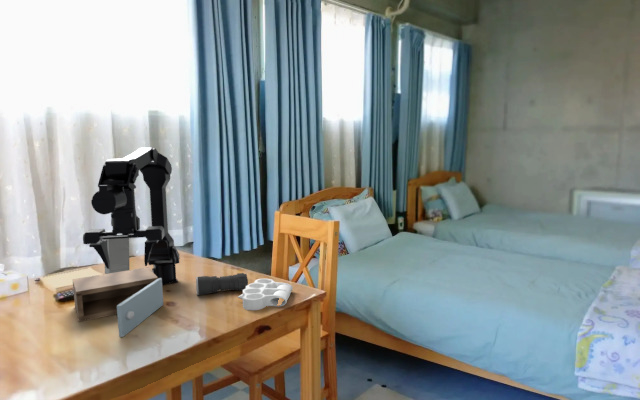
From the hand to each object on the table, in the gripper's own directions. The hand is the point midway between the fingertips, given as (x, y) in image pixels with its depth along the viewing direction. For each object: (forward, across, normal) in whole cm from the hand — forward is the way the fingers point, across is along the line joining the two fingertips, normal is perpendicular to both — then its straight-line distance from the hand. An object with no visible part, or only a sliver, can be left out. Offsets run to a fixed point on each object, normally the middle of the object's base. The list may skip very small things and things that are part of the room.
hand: (127, 266), depth 114 cm
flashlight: (+13, -24, -12) cm, 30 cm away
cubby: (+13, +5, -8) cm, 16 cm away
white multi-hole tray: (+14, -36, -4) cm, 38 cm away
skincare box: (+13, +11, -35) cm, 39 cm away
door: (+13, -4, +4) cm, 14 cm away
